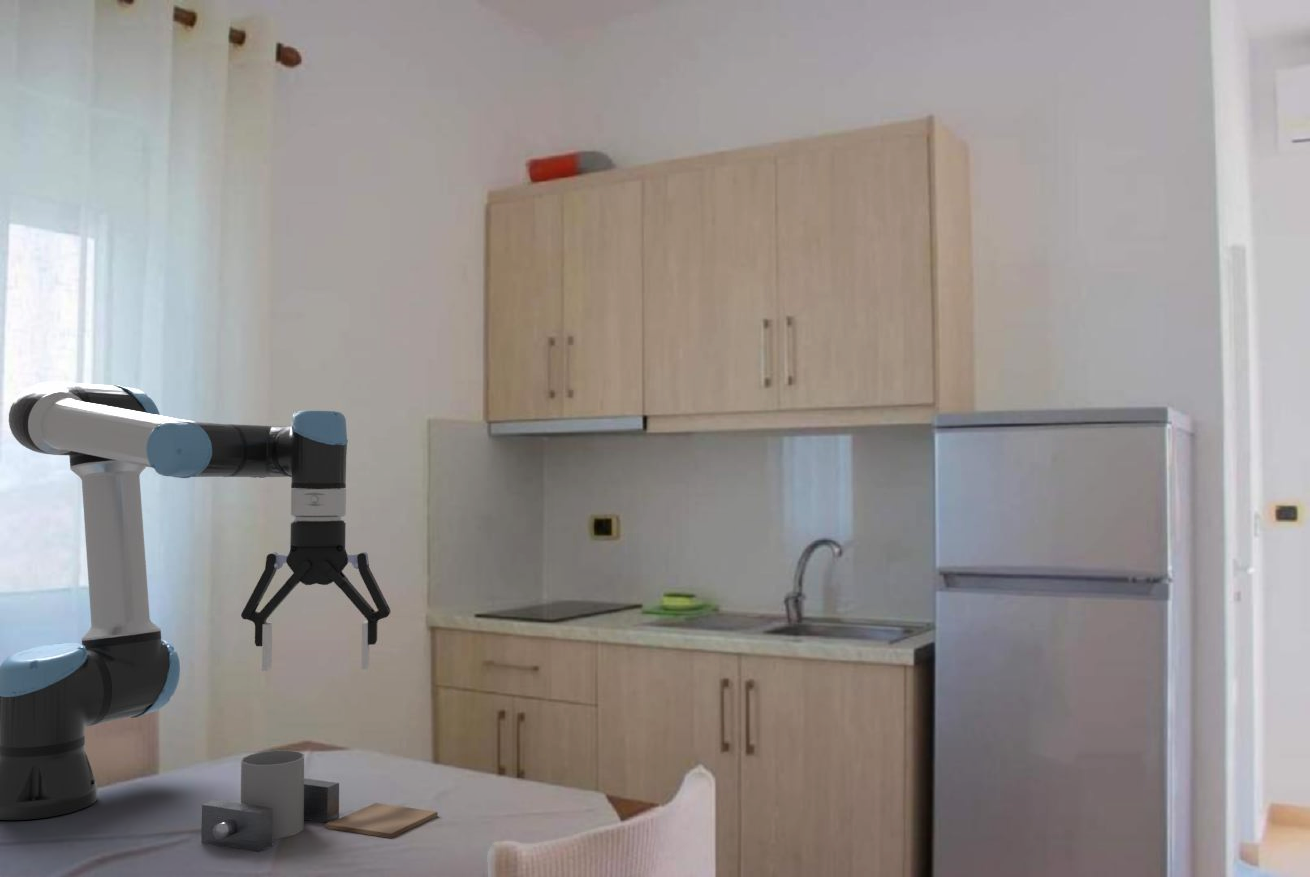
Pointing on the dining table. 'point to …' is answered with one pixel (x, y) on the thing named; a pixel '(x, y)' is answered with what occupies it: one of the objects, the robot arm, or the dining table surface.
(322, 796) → the vise jaws
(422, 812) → the board
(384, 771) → the dining table surface
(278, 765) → the cup
